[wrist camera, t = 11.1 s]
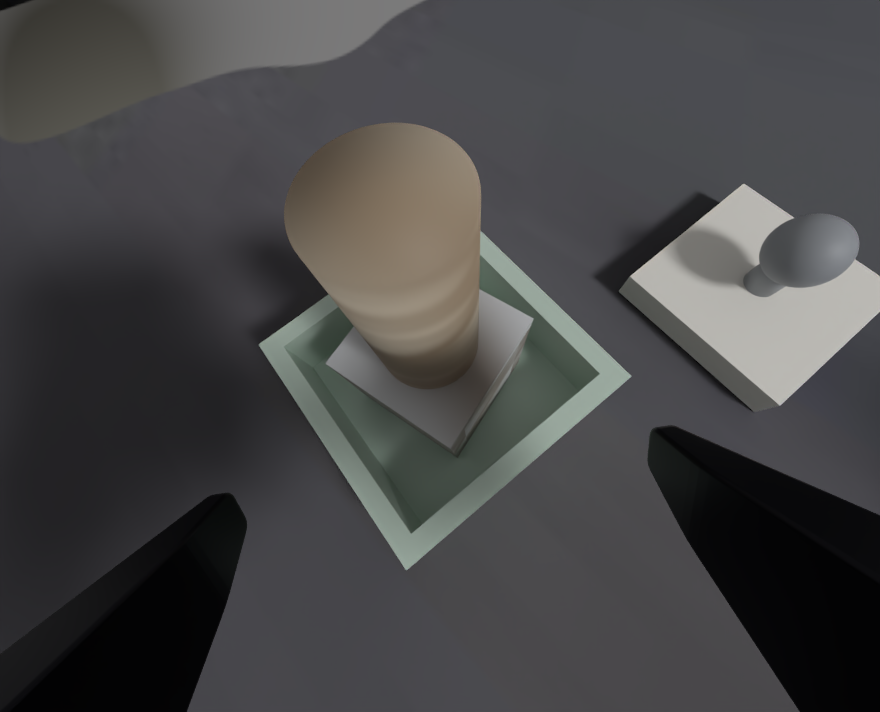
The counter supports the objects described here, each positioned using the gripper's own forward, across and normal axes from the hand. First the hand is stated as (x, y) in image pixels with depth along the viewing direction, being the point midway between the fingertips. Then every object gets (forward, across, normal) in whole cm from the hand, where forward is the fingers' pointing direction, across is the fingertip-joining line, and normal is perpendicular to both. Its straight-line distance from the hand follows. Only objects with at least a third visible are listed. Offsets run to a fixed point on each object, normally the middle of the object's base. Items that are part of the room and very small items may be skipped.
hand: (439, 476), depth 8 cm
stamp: (+9, 0, +3) cm, 10 cm away
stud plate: (+11, -15, +2) cm, 19 cm away
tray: (+10, 0, +3) cm, 11 cm away
